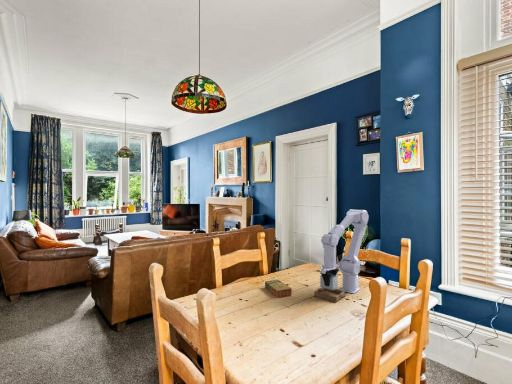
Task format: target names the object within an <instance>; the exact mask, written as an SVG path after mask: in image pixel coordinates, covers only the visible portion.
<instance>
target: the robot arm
mask: <svg viewBox="0 0 512 384" xmlns="http://www.w3.org/2000/svg"><path fill="white" fill-rule="evenodd" d="M369 216H370V215H369V214H368V211H367V210H365V209H353V208H352V209H351V208H350V209H349V210H348V211H347V212H346V216H345V217H344V218H343V220H342V221H341V222H340V223H339V224H335V225H334V226H333V227H332V228H331V229H330V231H329V232H328V233H324V234H323V235H322V237H321V239H320V240H321V244H322V247H323V264H321V268H320V275H322V277H323V280H324V284H325V286H329V285H330V278H331V275H336V276H338V275H337V274H338V272H339V270H340V271H341V274H342V277H341V278H342V283H341V284H342V286H341V288H340V289H339V290H340V291H344V292H345V293H349V294H355V293H357V292H358V291H361V287H360V283H359V282H360V281H359V273H360V272H361V263H362V262H361V261H360V259H359V258H358V256H359V252H360V248H361V245H362V241H363V238H364V234H365V230H366V227H367V226H368V222H369ZM350 225H352V226H353V227H354V229H353V233H352V237H351V241H350V242H349V247H348V250H347V253H346V254H345V255H343V256H342V258H341V260H340V261H339V264H338V263H336V246H338V243H339V240H340V238H341V237H342V236H343V235H344V234H345V231H346V230H345V229H347V228H348V227H349V226H350ZM338 267H339V268H338Z"/></svg>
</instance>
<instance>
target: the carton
mask: <svg viewBox="0 0 512 384" xmlns="http://www.w3.org/2000/svg"><path fill="white" fill-rule="evenodd" d="M264 289H265V290H267V291H269V292H270V293H271V294H272V295H273V296H274V297H275V298H277V299H281V298H285V297H287V298H288V297H291V296H293V295H292V292H293V291H292V289H293V288H291V287H290V286H288V285H287V284H286V283H284V282H283V281H281V280H280V279H278V278H277V279H273V280H272V279H271V280H266V281H265V282H264Z"/></svg>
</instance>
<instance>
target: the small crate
mask: <svg viewBox="0 0 512 384" xmlns="http://www.w3.org/2000/svg"><path fill="white" fill-rule="evenodd" d="M319 277H320V278H319V280H320V281H319V284H320V285H319V288H321V287H322V288H326V289H330V290H335V289H336V290H337V289H338V287H339V286H338V284H339V280H338V275H331V278H330V285H329V286H325V284H324V280H323V277H322V275H321V274H320V275H319Z"/></svg>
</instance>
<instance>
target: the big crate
mask: <svg viewBox="0 0 512 384" xmlns="http://www.w3.org/2000/svg"><path fill="white" fill-rule="evenodd" d="M313 293H314V294H313V295H314V297H316V298H318V299H319V298H320V299H322V300H326V301H329V302H333V303H338V302H339V301H341V300H342V299H344V298H345V297H346V292H345V291H341V290H340V289H337V288H336V289H335V290H330V289H326V288H322V287H319V288H318V289H316V290H314V292H313Z"/></svg>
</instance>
